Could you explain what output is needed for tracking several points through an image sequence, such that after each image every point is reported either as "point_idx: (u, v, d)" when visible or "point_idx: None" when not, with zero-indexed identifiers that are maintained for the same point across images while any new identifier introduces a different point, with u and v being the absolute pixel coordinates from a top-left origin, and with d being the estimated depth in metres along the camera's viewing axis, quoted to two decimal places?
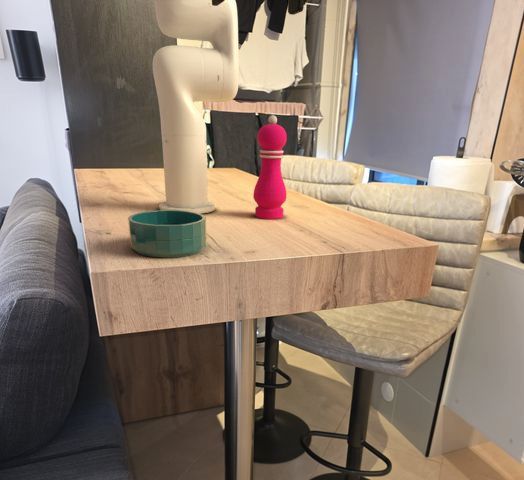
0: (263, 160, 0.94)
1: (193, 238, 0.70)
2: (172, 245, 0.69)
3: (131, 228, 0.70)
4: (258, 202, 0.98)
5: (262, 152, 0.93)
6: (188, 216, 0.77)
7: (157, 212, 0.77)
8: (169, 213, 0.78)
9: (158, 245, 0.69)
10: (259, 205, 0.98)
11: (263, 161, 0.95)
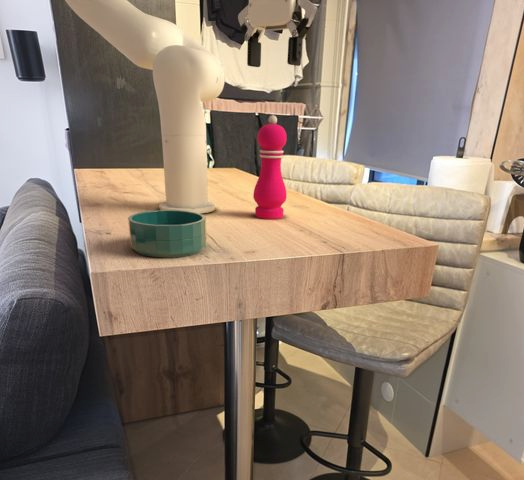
0: (263, 160, 0.94)
1: (193, 238, 0.70)
2: (172, 245, 0.69)
3: (131, 228, 0.70)
4: (258, 202, 0.98)
5: (262, 152, 0.93)
6: (188, 216, 0.77)
7: (157, 212, 0.77)
8: (169, 213, 0.78)
9: (158, 245, 0.69)
10: (259, 205, 0.98)
11: (263, 161, 0.95)
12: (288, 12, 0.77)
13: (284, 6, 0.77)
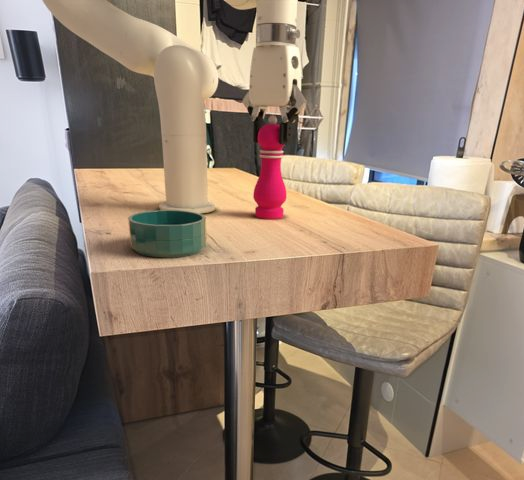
0: (263, 160, 0.94)
1: (193, 238, 0.70)
2: (172, 245, 0.69)
3: (131, 228, 0.70)
4: (258, 202, 0.98)
5: (262, 152, 0.93)
6: (188, 216, 0.77)
7: (157, 212, 0.77)
8: (169, 213, 0.78)
9: (158, 245, 0.69)
10: (259, 205, 0.98)
11: (263, 161, 0.95)
12: (285, 97, 0.86)
13: (282, 91, 0.86)
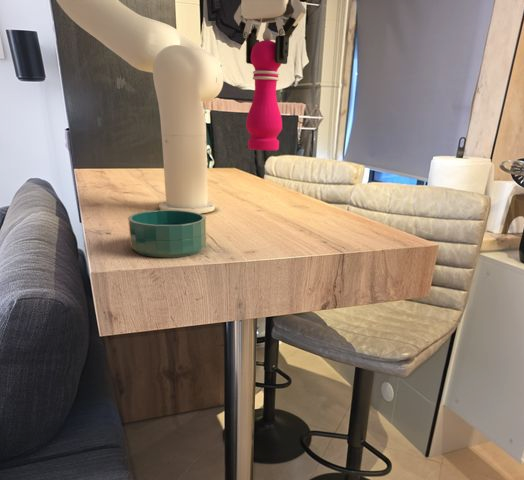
0: (257, 82, 0.86)
1: (193, 238, 0.70)
2: (172, 245, 0.69)
3: (131, 228, 0.70)
4: (251, 131, 0.89)
5: (256, 73, 0.85)
6: (188, 216, 0.77)
7: (157, 212, 0.77)
8: (169, 213, 0.78)
9: (158, 245, 0.69)
10: (252, 135, 0.90)
11: (257, 83, 0.86)
12: (282, 5, 0.78)
13: None
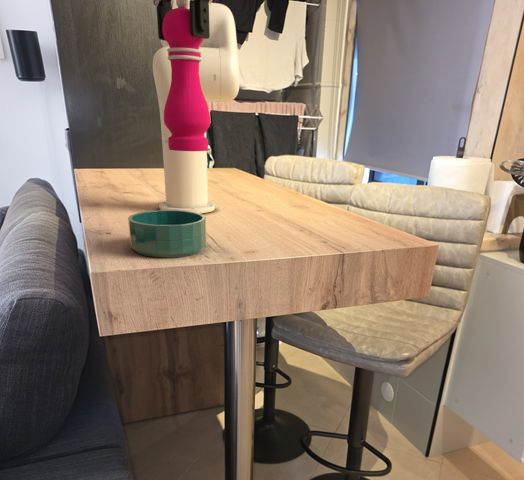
0: (172, 63, 0.66)
1: (193, 238, 0.70)
2: (172, 245, 0.69)
3: (131, 228, 0.70)
4: (169, 127, 0.69)
5: (169, 51, 0.65)
6: (188, 216, 0.77)
7: (157, 212, 0.77)
8: (169, 213, 0.78)
9: (158, 245, 0.69)
10: (172, 132, 0.70)
11: (172, 65, 0.66)
12: None
13: None
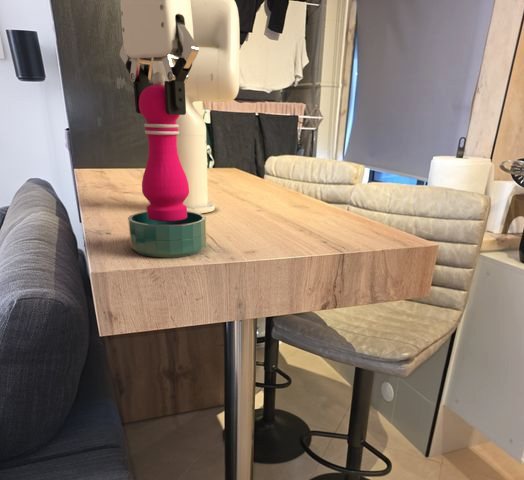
0: (149, 138, 0.66)
1: (193, 238, 0.70)
2: (172, 245, 0.69)
3: (131, 228, 0.70)
4: (147, 198, 0.69)
5: (146, 126, 0.65)
6: (188, 216, 0.77)
7: None
8: None
9: (158, 245, 0.69)
10: (150, 202, 0.70)
11: (149, 139, 0.66)
12: (167, 41, 0.58)
13: (161, 33, 0.58)
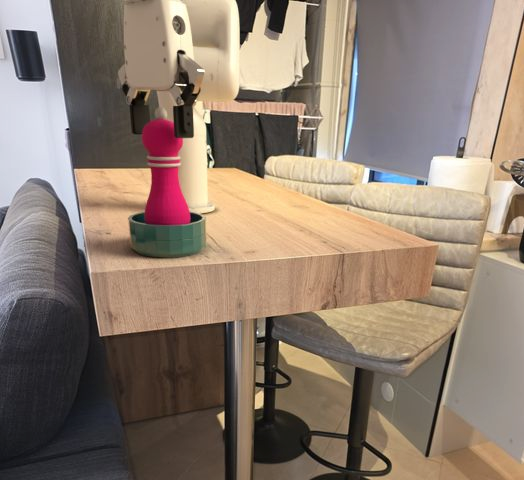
0: (152, 170, 0.68)
1: (193, 238, 0.70)
2: (172, 245, 0.69)
3: (131, 228, 0.70)
4: None
5: (149, 159, 0.67)
6: None
7: None
8: None
9: (158, 245, 0.69)
10: None
11: (152, 171, 0.69)
12: (169, 76, 0.60)
13: (163, 68, 0.60)
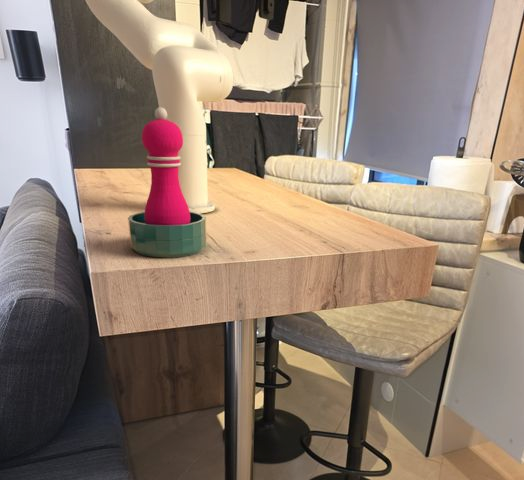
0: (152, 170, 0.68)
1: (193, 238, 0.70)
2: (172, 245, 0.69)
3: (131, 228, 0.70)
4: None
5: (149, 159, 0.67)
6: None
7: None
8: None
9: (158, 245, 0.69)
10: None
11: (152, 171, 0.69)
12: None
13: None
